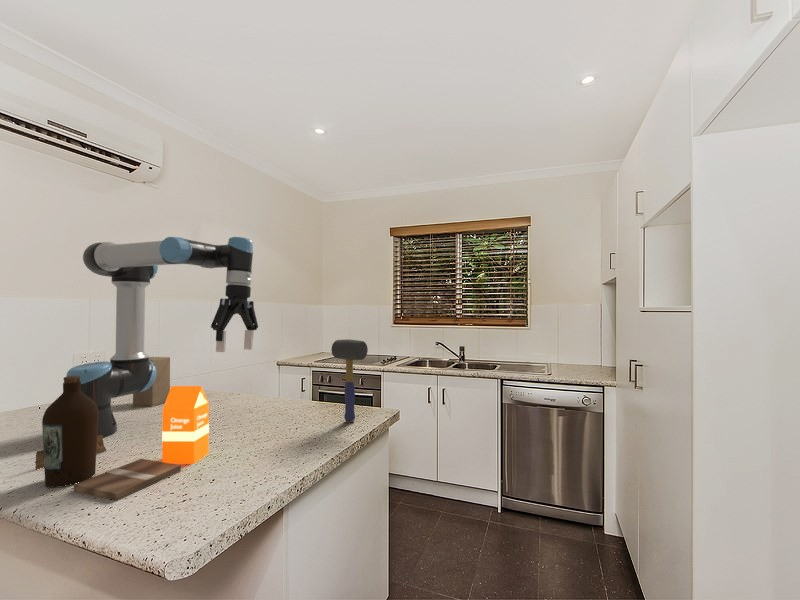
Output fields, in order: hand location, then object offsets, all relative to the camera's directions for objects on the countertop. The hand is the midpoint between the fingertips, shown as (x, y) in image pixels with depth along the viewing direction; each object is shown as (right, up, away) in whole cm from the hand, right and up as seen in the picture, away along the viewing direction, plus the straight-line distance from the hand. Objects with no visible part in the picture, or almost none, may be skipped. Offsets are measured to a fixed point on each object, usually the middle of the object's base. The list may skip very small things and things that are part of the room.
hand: (234, 350), depth 124 cm
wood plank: (-37, -28, -18) cm, 50 cm away
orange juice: (-6, -28, -17) cm, 33 cm away
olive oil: (-28, -28, -30) cm, 49 cm away
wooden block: (-56, -30, +46) cm, 78 cm away
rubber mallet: (+35, -28, +16) cm, 48 cm away
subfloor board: (-12, -27, -31) cm, 43 cm away
